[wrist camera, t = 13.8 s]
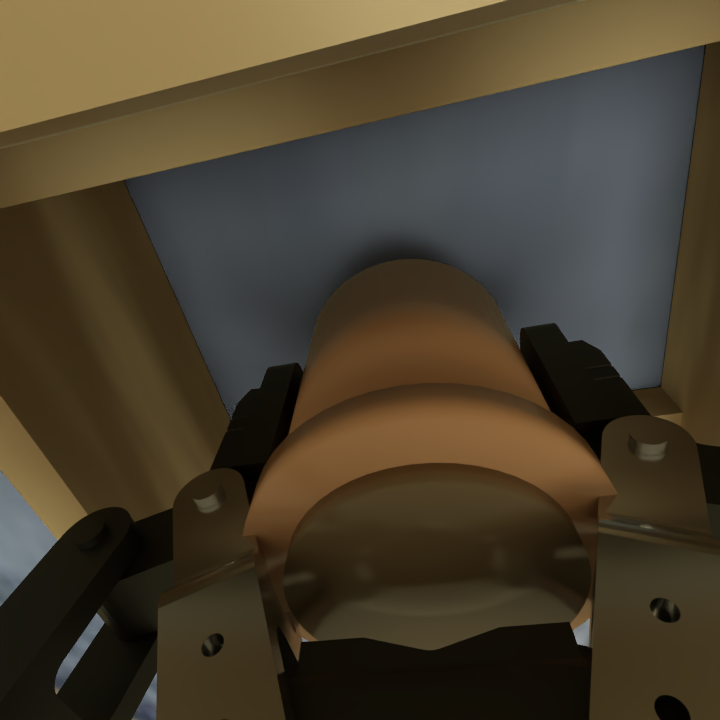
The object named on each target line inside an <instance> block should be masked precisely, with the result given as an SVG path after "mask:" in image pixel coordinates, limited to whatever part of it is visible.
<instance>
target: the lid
mask: <svg viewBox="0 0 720 720" xmlns="http://www.w3.org/2000/svg"><path fill="white" fill-rule="evenodd" d="M581 1H585V0H0V149H3V148H7V147H11V146H15V145H19V144H23V143H27V142H31V141H35V140H38V139H42V138H46V137H50V136H54V135H58V134H62V133H66V132H70V131H74V130H78V129H82V128H86V127H90V126H94V125H97V124H101V123H105V122H109V121H113V120H117V119H121V118H125V117H129V116H133V115H137V114H141V113H145V112H149V111H153V110H156V109H160V108H164V107H168V106H172V105H176V104H180V103H184V102H188V101H192V100H196V99H200V98H204V97H208V96H212V95H215V94H219V93H223V92H227V91H231V90H235V89H239V88H243V87H247V86H251V85H255V84H259V83H263V82H267V81H271V80H274V79H278V78H282V77H286V76H290V75H294V74H298V73H302V72H306V71H310V70H314V69H318V68H322V67H326V66H330V65H333V64H337V63H341V62H345V61H349V60H353V59H357V58H361V57H365V56H369V55H373V54H377V53H381V52H385V51H389V50H392V49H396V48H400V47H404V46H408V45H412V44H416V43H420V42H424V41H428V40H432V39H436V38H440V37H444V36H448V35H451V34H455V33H459V32H463V31H467V30H471V29H475V28H479V27H483V26H487V25H491V24H495V23H499V22H503V21H507V20H510V19H514V18H518V17H522V16H526V15H530V14H534V13H538V12H542V11H546V10H550V9H554V8H558V7H562V6H566V5H569V4H573V3H577V2H581Z"/></svg>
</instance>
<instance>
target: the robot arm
mask: <svg viewBox="0 0 720 720" xmlns="http://www.w3.org/2000/svg"><path fill="white" fill-rule="evenodd" d="M520 351H521V353H522V355H523V357H524V359H525V361H526V363H527V365H528V367H529V369H530V371H531V373H532V375H533V377H534V379H535V381H536V383H537V385H538V387H539V389H540V391H541V393H542V395H543V397H544V399H545V401H546V403H547V405H548V407H549V409H550V411H551V412H553V413H554V414H556V415H557V416H558V417H560V418H561V419H562V420H564V421H565V422H567V423H568V424H569V425H571V426H572V427H573V428H574V429H575V430H576V431H577V432H578V433H579V434H580V435H581V436H582V437H583V438H584V439H585V440H586V441H587V442H588V444H589V445H590V447H591V448H592V450H593V451H594V453H595V454H596V456H597V457H598V459H599V460H600V462H601V465H602V467H603V469H604V470H605V472H606V474H607V476H608V477H609V479H610V481H611V483H612V484H613V486H614V488H615V490H616V492H617V493H618V494H617V495H608V496H599V503H598V516H597V535H596V552H595V567H594V580H593V585H592V595H591V610H590V628H589V644H588V647H587V646H583V645H578V644H577V642H576V639H575V636H574V633H573V630H572V628H571V625H570V622H560V623H546V624H533V625H520V626H507V627H498V628H496V629H493V630H490V631H487V632H485V633H482V634H479V635H476V636H473V637H471V638H468V639H465V640H462V641H459V642H457V643H454V644H451V645H448V646H445V647H443V648H440V649H436V650H423V649H418V648H413V647H408V646H403V645H398V644H393V643H388V642H383V641H379V640H374V639H369V638H364V637H362V638H349V639H336V640H322V641H309V642H302V638H301V634H300V630H299V627H298V624H297V622H296V620H295V618H294V616H293V614H292V612H285V611H284V609H283V607H282V605H281V603H280V601H279V599H278V597H277V595H276V592H275V590H274V587H273V584H272V581H271V578H270V575H269V572H268V568H267V563H266V559H265V555H264V552H263V550H262V548H261V546H260V544H259V542H258V540H257V537H256V535H249V536H243V531H244V526H245V522H246V519H247V515H248V512H249V508H250V505H251V502H252V498H253V495H254V491H255V488H256V484H257V482H258V479H259V477H260V474H261V472H262V470H263V467H264V466H265V464H266V463H267V461H268V459H269V458H270V456H271V455H272V453H273V452H274V450H275V449H276V448H277V447H278V446H279V445H280V444H281V443H282V441H283V440H284V439H285V438H286V437H287V436H288V434H289V430H290V426H291V422H292V417H293V413H294V409H295V405H296V401H297V397H298V393H299V389H300V385H301V381H302V377H303V371H302V368H301V366H300V365H299V364H298V363H293V364H286V365H280V366H273V367H269V368H268V369H267V371H266V374H265V376H264V379H263V382H262V385H261V387H260V388H258V389H251V390H250V391H249V392H248V393H247V394H246V395H245V396H244V397H243V398H242V399H241V400H240V401H239V403H238V404H237V406H236V409H235V411H234V414H233V416H232V420H231V421H230V423H229V425H228V428H227V432H226V433H225V435H224V437H223V440H222V442H221V444H220V447H219V449H218V452H217V454H216V456H215V459H214V461H213V463H212V466H211V468H210V471H207V472H205V473H203V474H200V475H199V476H197V477H195V478H194V479H192V480H191V481H189V482H188V483H187V484H186V485H185V486H184V487H183V488H182V489H181V490H180V491H179V493H178V494H177V496H176V498H175V500H174V503H173V508H170V509H168V510H166V511H163V512H160V513H157V514H155V515H152V516H149V517H147V518H144V519H141V520H139V521H136V522H134V520H133V519H132V517H131V516H130V514H129V512H128V511H127V510H125V509H123V508H121V507H108V508H104V509H100V510H97V511H95V512H93V513H91V514H89V515H87V516H85V517H84V518H82V519H80V520H79V521H78V522H76V523H75V524H74V525H73V526H71V527H70V528H69V529H68V530H67V531H66V532H65V533H64V534H63V535H62V537H61V538H60V539H59V540H58V541H57V542H56V543H55V545H54V546H53V547H52V548H51V549H50V550H49V551H48V553H47V554H46V555H45V556H44V557H43V558H42V560H41V561H40V562H39V563H38V564H37V565H36V566H35V568H34V569H33V570H32V571H31V572H30V573H29V574H28V576H27V577H26V578H25V579H24V580H23V581H22V582H21V584H20V585H19V586H18V587H17V588H16V589H15V590H14V592H13V593H12V594H11V595H10V596H9V597H8V598H7V600H6V601H5V602H4V603H3V604H2V605H1V606H0V720H131V719H132V717H133V716H134V714H135V712H136V710H137V708H138V706H139V704H140V703H141V701H142V699H143V697H144V695H145V693H146V691H147V689H148V688H149V686H150V684H151V682H152V680H153V678H154V676H155V674H156V673H157V710H156V720H720V446H711V445H704V444H699V443H696V442H695V440H694V439H693V437H692V436H691V435H690V434H689V433H688V432H687V431H686V430H685V429H684V428H682V427H681V426H679V425H677V424H675V423H673V422H671V421H668V420H665V419H662V418H659V417H654V416H651V415H650V413H649V412H648V411H647V409H646V408H645V407H644V406H643V404H642V403H641V402H640V400H639V399H638V398H637V397H636V395H635V394H634V393H633V391H632V390H631V389H630V388H629V386H628V385H627V384H626V382H625V381H624V380H623V379H622V378H620V375H619V373H618V372H617V371H616V369H615V368H614V367H613V366H612V367H611V363H610V362H609V360H608V359H607V358H606V357H605V355H604V354H603V353H602V351H601V350H599V349H597V348H596V347H594V346H592V345H590V344H588V343H586V342H585V341H583V340H580V341H573V342H568V341H567V339H566V338H565V337H564V335H563V334H562V332H561V331H560V329H559V328H558V326H557V325H556V324H555V323H551V324H545V325H538V326H532V327H526V328H522V329H521V331H520ZM96 613H97V614H98V615H99V616H100V617H101V618H102V620H103V621H104V622H105V623H104V625H103V626H102V628H101V629H100V631H99V632H98V634H97V635H96V637H95V638H94V640H93V641H92V643H91V644H90V646H89V647H88V649H87V650H86V652H85V653H84V655H83V656H82V658H81V659H80V661H79V662H78V664H77V665H76V667H75V668H74V670H73V671H72V673H71V674H70V676H69V677H68V679H67V680H66V682H65V683H64V685H63V686H62V688H61V689H60V690H59V692H58V693H57V695H56V693H55V678H56V674H57V672H58V669H59V667H60V665H61V663H62V662H63V660H64V659H65V657H66V656H67V654H68V653H69V652H70V650H71V649H72V647H73V646H74V644H75V643H76V642H77V640H78V639H79V637H80V636H81V634H82V633H83V631H84V630H85V629H86V627H87V626H88V624H89V623H90V621H91V620H92V619H93V617H94V616H95V614H96Z"/></svg>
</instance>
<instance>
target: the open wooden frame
mask: <svg viewBox="0 0 720 720" xmlns="http://www.w3.org/2000/svg"><path fill="white" fill-rule="evenodd" d="M705 44H706V50H705V57H704V65H703V72H702V80H701V87H700V95H699V102H698V110H697V117H696V125H695V133H694V140H693V148H692V155H691V163H690V170H689V178H688V185H687V193H686V200H685V208H684V215H683V223H682V231H681V238H680V246H679V253H678V261H677V268H676V276H675V283H674V291H673V298H672V306H671V313H670V321H669V329H668V336H667V344H666V351H665V359H664V366H663V374H662V381H661V387H655V388H648V389H640V390H633V393H634V394H635V395H636V397H637V398H638V399H639V400H640V402H641V403H642V404H643V406H644V407H645V408H646V409H647V411H648V412H649V413H650V415H651V416H654V417H659V418H662V419H665V420H668V421H671V422H673V423H675V424H677V425H679V426H681V427H682V428H684V429H685V430H686V431H687V432H688V433H689V434H690V435H691V436H692V437H693V439H694V440H695V442H696V443H699V444H704V445H711V446H720V0H585V1H581V2H577V3H573V4H569V5H566V6H562V7H558V8H554V9H550V10H546V11H542V12H538V13H534V14H530V15H526V16H522V17H518V18H514V19H510V20H507V21H503V22H499V23H495V24H491V25H487V26H483V27H479V28H475V29H471V30H467V31H463V32H459V33H455V34H451V35H448V36H444V37H440V38H436V39H432V40H428V41H424V42H420V43H416V44H412V45H408V46H404V47H400V48H396V49H392V50H389V51H385V52H381V53H377V54H373V55H369V56H365V57H361V58H357V59H353V60H349V61H345V62H341V63H337V64H333V65H330V66H326V67H322V68H318V69H314V70H310V71H306V72H302V73H298V74H294V75H290V76H286V77H282V78H278V79H274V80H271V81H267V82H263V83H259V84H255V85H251V86H247V87H243V88H239V89H235V90H231V91H227V92H223V93H219V94H215V95H212V96H208V97H204V98H200V99H196V100H192V101H188V102H184V103H180V104H176V105H172V106H168V107H164V108H160V109H156V110H153V111H149V112H145V113H141V114H137V115H133V116H129V117H125V118H121V119H117V120H113V121H109V122H105V123H101V124H97V125H94V126H90V127H86V128H82V129H78V130H74V131H70V132H66V133H62V134H58V135H54V136H50V137H46V138H42V139H38V140H35V141H31V142H27V143H23V144H19V145H15V146H11V147H7V148H3V149H0V470H1V471H2V472H3V473H4V475H5V476H6V477H7V478H8V480H9V481H10V482H11V483H12V485H13V486H14V487H15V488H16V489H17V491H18V492H19V493H20V494H21V496H22V497H23V498H24V499H25V500H26V502H27V503H28V504H29V505H30V507H31V508H32V509H33V510H34V512H35V513H36V514H37V515H38V516H39V518H40V519H41V520H42V521H43V523H44V524H45V525H46V526H47V527H48V529H49V530H50V531H51V532H52V534H53V535H54V536H55V537H56V539H57V540H59V539H60V538H61V537H62V535H63V534H64V533H65V532H66V531H67V530H68V529H69V528H70V527H71V526H73V525H74V524H75V523H76V522H78V521H79V520H80V519H82V518H84V517H85V516H87V515H89V514H91V513H93V512H95V511H97V510H100V509H104V508H108V507H121V508H123V509H125V510H127V511H128V512H129V514H130V516H131V517H132V519H133V520H134V522H136V521H139V520H141V519H144V518H147V517H149V516H152V515H155V514H157V513H160V512H163V511H166V510H168V509H170V508H173V503H174V500H175V498H176V496H177V494H178V493H179V491H180V490H181V489H182V488H183V487H184V486H185V485H186V484H187V483H188V482H189V481H191V480H192V479H194V478H195V477H197V476H199V475H200V474H203V473H205V472H207V471H210V468H211V466H212V463H213V461H214V459H215V456H216V454H217V452H218V449H219V447H220V444H221V442H222V440H223V437H224V435H225V433H226V432H227V428H228V425H229V423H230V421H231V420H230V418H229V416H228V413H227V411H226V409H225V407H224V404H223V402H222V400H221V398H220V395H219V393H218V391H217V389H216V386H215V384H214V382H213V380H212V378H211V375H210V373H209V371H208V369H207V366H206V364H205V362H204V360H203V357H202V355H201V353H200V351H199V348H198V346H197V344H196V342H195V339H194V337H193V335H192V333H191V330H190V328H189V326H188V324H187V322H186V319H185V317H184V315H183V313H182V310H181V308H180V306H179V304H178V301H177V299H176V297H175V295H174V292H173V290H172V288H171V286H170V283H169V281H168V279H167V277H166V275H165V272H164V270H163V268H162V266H161V263H160V261H159V259H158V257H157V254H156V252H155V250H154V248H153V245H152V243H151V241H150V239H149V236H148V234H147V232H146V230H145V227H144V225H143V223H142V221H141V219H140V216H139V214H138V212H137V210H136V207H135V205H134V203H133V201H132V198H131V196H130V194H129V192H128V189H127V187H126V185H125V183H124V180H125V179H129V178H134V177H138V176H142V175H146V174H151V173H155V172H159V171H164V170H168V169H172V168H176V167H181V166H185V165H189V164H194V163H198V162H202V161H207V160H211V159H215V158H219V157H224V156H228V155H232V154H237V153H241V152H245V151H249V150H254V149H258V148H262V147H267V146H271V145H275V144H280V143H284V142H288V141H292V140H297V139H301V138H305V137H310V136H314V135H318V134H323V133H327V132H331V131H335V130H340V129H344V128H348V127H353V126H357V125H361V124H365V123H370V122H374V121H378V120H383V119H387V118H391V117H396V116H400V115H404V114H408V113H413V112H417V111H421V110H426V109H430V108H434V107H438V106H443V105H447V104H451V103H456V102H460V101H464V100H469V99H473V98H477V97H481V96H486V95H490V94H494V93H499V92H503V91H507V90H511V89H516V88H520V87H524V86H529V85H533V84H537V83H542V82H546V81H550V80H554V79H559V78H563V77H567V76H572V75H576V74H580V73H584V72H589V71H593V70H597V69H602V68H606V67H610V66H615V65H619V64H623V63H627V62H632V61H636V60H640V59H645V58H649V57H653V56H658V55H662V54H666V53H670V52H675V51H679V50H683V49H688V48H692V47H696V46H700V45H705Z"/></svg>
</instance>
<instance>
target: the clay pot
mask: <svg viewBox="0 0 720 720" xmlns="http://www.w3.org/2000/svg"><path fill="white" fill-rule="evenodd" d="M617 494H618V493H617V492H616V490H615V488H614V486H613V484H612V483H611V481H610V479H609V477H608V476H607V474H606V472H605V470H604V469H603V467H602V465H601V462H600V460H599V459H598V457H597V456H596V454H595V453H594V451H593V450H592V448H591V447H590V445H589V444H588V442H587V441H586V440H585V439H584V438H583V437H582V436H581V435H580V434H579V433H578V432H577V431H576V430H575V429H574V428H573V427H572V426H571V425H569V424H568V423H567V422H565V421H564V420H562V419H561V418H560V417H558V416H557V415H556V414H554V413H553V412H551V411H550V409H549V407H548V405H547V403H546V401H545V399H544V397H543V395H542V393H541V391H540V389H539V387H538V385H537V383H536V381H535V379H534V377H533V375H532V373H531V371H530V369H529V367H528V365H527V363H526V361H525V359H524V357H523V355H522V353H521V351H520V349H519V347H518V345H517V343H516V341H515V339H514V337H513V335H512V333H511V331H510V329H509V327H508V325H507V323H506V321H505V319H504V317H503V315H502V313H501V311H500V309H499V307H498V305H497V303H496V302H495V300H494V299H493V298H492V296H491V295H490V293H489V292H488V291H487V290H486V289H485V288H484V287H483V286H482V285H481V284H480V283H479V282H478V281H476V280H475V279H474V278H473V277H471V276H470V275H468V274H466V273H465V272H463V271H461V270H460V269H457V268H455V267H452V266H450V265H448V264H444V263H440V262H436V261H431V260H424V259H401V260H393V261H389V262H385V263H381V264H377V265H375V266H372V267H370V268H367V269H365V270H363V271H361V272H359V273H357V274H356V275H354V276H352V277H351V278H350V279H348V280H347V281H345V282H344V283H343V284H342V285H341V286H340V287H339V288H338V289H336V290H335V291H334V292H333V294H332V295H331V296H330V297H329V299H328V300H327V301H326V303H325V304H324V306H323V308H322V310H321V311H320V313H319V316H318V318H317V321H316V323H315V328H314V332H313V336H312V340H311V344H310V348H309V352H308V356H307V360H306V364H305V368H304V373H303V377H302V381H301V385H300V389H299V393H298V397H297V401H296V405H295V409H294V413H293V417H292V422H291V426H290V430H289V434H288V436H287V437H286V438H285V439H284V440H283V441H282V443H281V444H280V445H279V446H278V447H277V448H276V449H275V450H274V452H273V453H272V455H271V456H270V458H269V459H268V461H267V463H266V464H265V466H264V467H263V470H262V472H261V474H260V477H259V479H258V482H257V484H256V488H255V491H254V495H253V498H252V502H251V505H250V508H249V512H248V515H247V519H246V522H245V526H244V531H243V536H249V535H256V537H257V540H258V542H259V544H260V546H261V548H262V550H263V552H264V555H265V559H266V563H267V568H268V572H269V575H270V578H271V581H272V584H273V587H274V590H275V592H276V595H277V597H278V599H279V601H280V603H281V605H282V607H283V609H284V611H285V612H292V614H293V616H294V618H295V620H296V622H297V624H298V627H299V630H300V634H301V637H302V638H304V639H306V640H308V641H322V640H336V639H349V638H362V637H364V638H369V639H374V640H379V641H383V642H388V643H393V644H398V645H403V646H408V647H413V648H418V649H423V650H436V649H440V648H443V647H445V646H448V645H451V644H454V643H457V642H459V641H462V640H465V639H468V638H471V637H473V636H476V635H479V634H482V633H485V632H487V631H490V630H493V629H496V628H498V627H507V626H520V625H533V624H546V623H560V622H570V625H571V628H572V630H574V629H575V628H577V627H578V626H580V625H581V624H583V623H584V622H585V621H586V620H588V619H589V618H590V610H591V595H592V585H593V580H594V567H595V552H596V535H597V516H598V503H599V496H608V495H617Z"/></svg>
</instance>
